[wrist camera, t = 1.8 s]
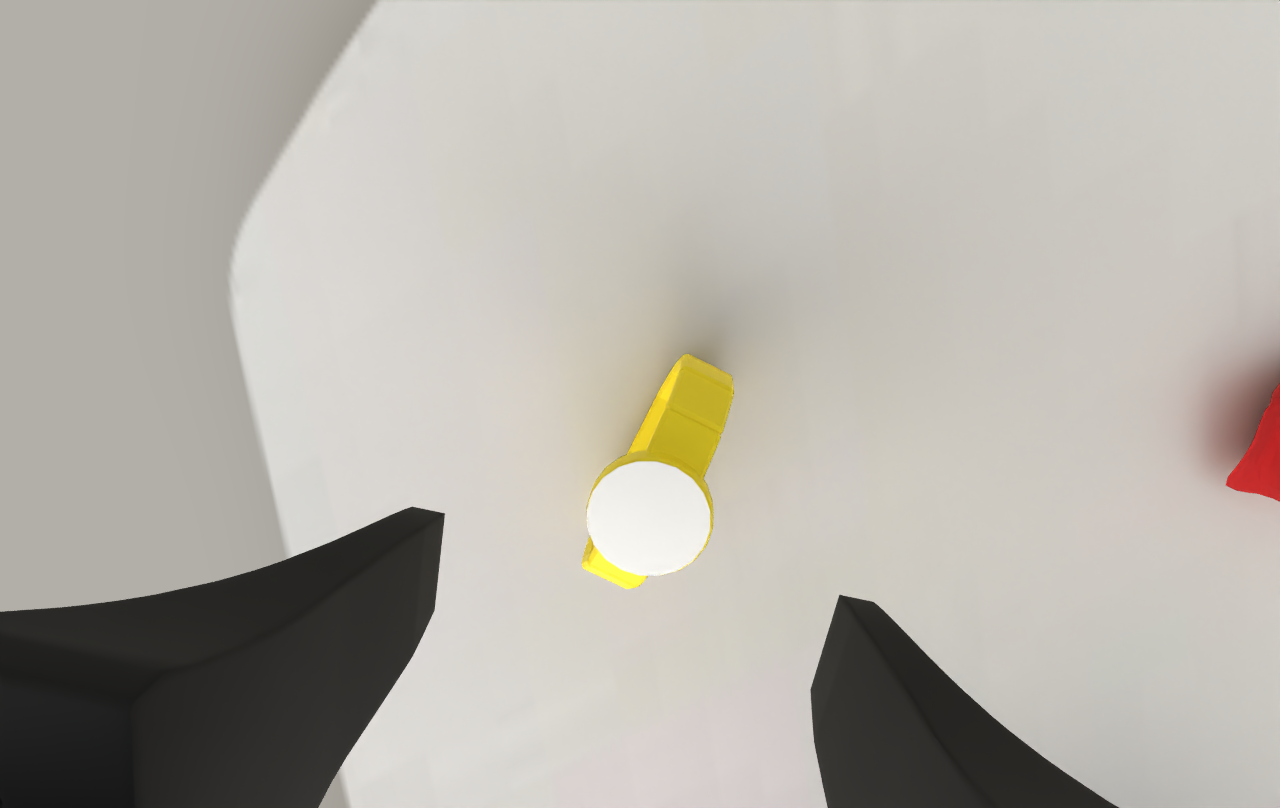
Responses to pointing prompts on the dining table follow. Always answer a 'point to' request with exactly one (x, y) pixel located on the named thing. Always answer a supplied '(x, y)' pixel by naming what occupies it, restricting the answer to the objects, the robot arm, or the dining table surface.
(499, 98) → the dining table surface
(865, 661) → the robot arm
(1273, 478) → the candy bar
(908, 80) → the dining table surface
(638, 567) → the watch
